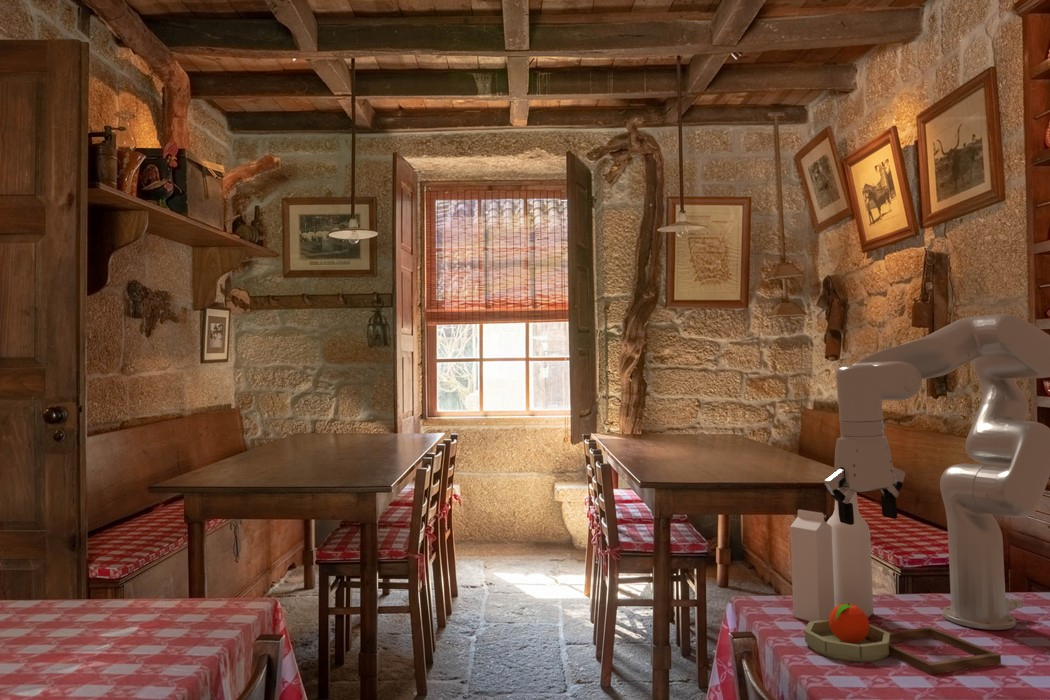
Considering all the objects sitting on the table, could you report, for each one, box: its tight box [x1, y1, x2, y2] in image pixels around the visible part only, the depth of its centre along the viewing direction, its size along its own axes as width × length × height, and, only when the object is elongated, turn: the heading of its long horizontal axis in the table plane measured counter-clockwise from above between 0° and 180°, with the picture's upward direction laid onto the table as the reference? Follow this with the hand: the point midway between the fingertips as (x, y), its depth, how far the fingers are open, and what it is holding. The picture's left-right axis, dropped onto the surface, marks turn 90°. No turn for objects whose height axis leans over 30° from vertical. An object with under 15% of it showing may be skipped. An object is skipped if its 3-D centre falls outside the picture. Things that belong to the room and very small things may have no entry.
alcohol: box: [826, 488, 874, 619], centre depth 153 cm, size 9×9×30 cm
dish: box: [804, 619, 891, 663], centre depth 133 cm, size 14×14×3 cm
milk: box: [789, 509, 835, 622], centre depth 150 cm, size 6×6×22 cm
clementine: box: [829, 603, 870, 643], centre depth 133 cm, size 8×7×7 cm
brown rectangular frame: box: [866, 626, 1002, 675], centre depth 130 cm, size 15×15×2 cm
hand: (868, 520), depth 136 cm, fingers open, 9 cm apart
